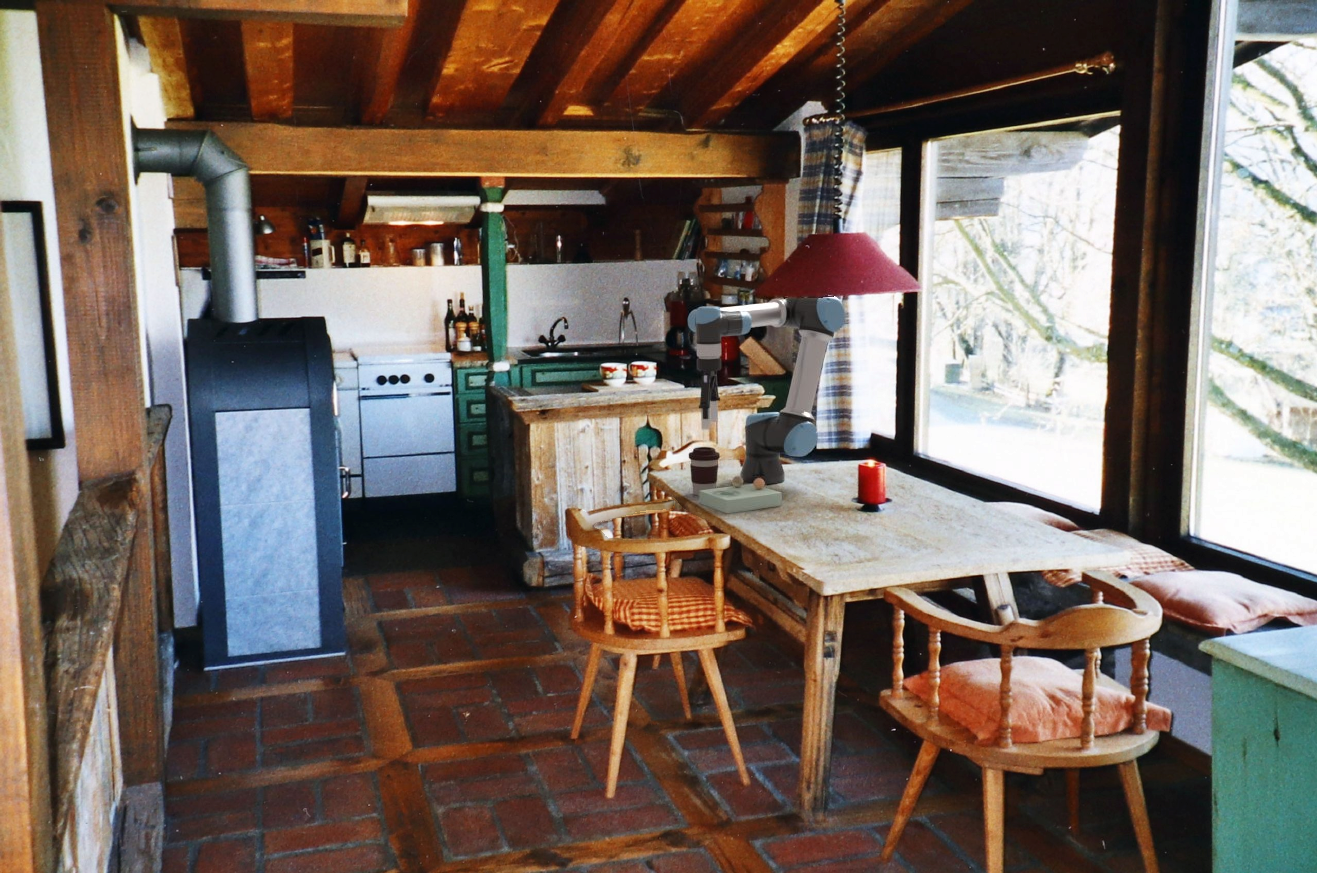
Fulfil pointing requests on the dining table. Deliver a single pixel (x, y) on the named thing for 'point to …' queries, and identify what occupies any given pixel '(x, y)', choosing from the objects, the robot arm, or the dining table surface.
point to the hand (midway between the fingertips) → (709, 425)
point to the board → (740, 498)
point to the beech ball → (737, 481)
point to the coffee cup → (703, 468)
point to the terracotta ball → (759, 483)
